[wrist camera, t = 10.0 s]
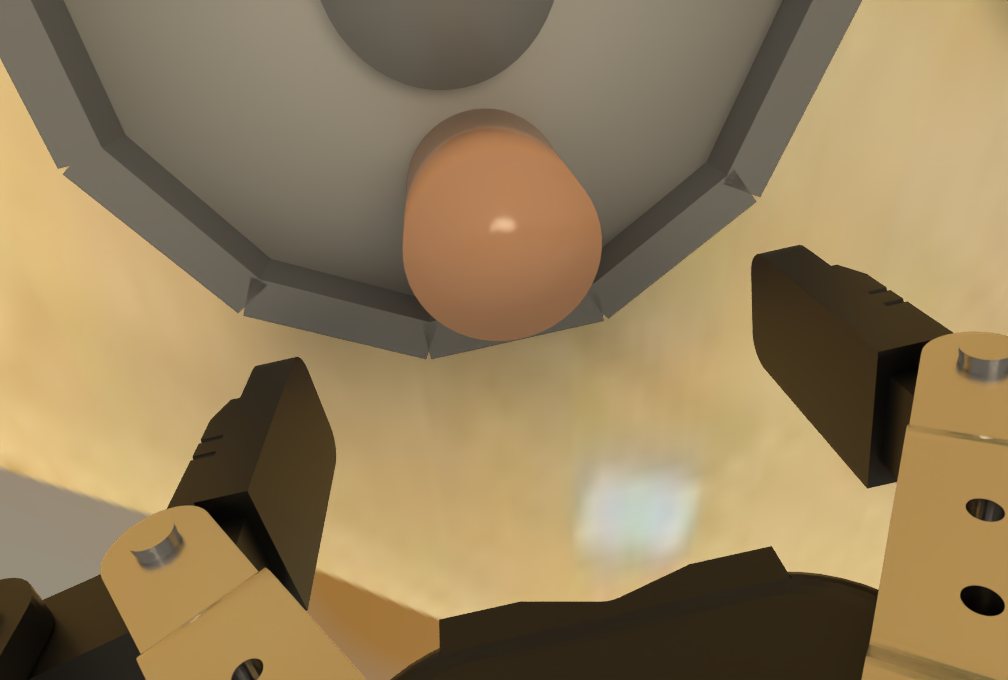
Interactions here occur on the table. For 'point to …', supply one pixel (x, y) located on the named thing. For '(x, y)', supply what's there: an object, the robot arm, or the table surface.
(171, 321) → the table surface
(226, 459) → the robot arm
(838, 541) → the table surface
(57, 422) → the table surface
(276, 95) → the ring tray
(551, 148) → the terracotta bead
